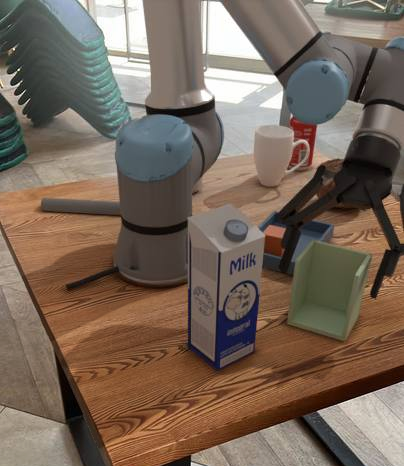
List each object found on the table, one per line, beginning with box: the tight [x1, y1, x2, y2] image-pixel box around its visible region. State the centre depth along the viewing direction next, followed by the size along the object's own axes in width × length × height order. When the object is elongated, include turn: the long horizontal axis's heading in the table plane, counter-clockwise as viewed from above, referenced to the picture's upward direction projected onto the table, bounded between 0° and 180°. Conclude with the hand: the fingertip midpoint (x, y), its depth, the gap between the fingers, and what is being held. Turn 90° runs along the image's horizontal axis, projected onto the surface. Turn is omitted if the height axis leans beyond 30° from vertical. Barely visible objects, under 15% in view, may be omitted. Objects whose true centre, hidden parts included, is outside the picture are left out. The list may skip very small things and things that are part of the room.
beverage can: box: [287, 115, 318, 172], centre depth 133 cm, size 6×6×12 cm
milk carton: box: [187, 203, 266, 372], centre depth 75 cm, size 7×7×20 cm
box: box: [286, 239, 373, 342], centre depth 84 cm, size 7×9×11 cm
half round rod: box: [40, 197, 121, 216], centre depth 116 cm, size 4×20×2 cm, turn 85°
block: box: [263, 225, 286, 257], centre depth 101 cm, size 4×4×4 cm
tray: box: [256, 210, 335, 276], centre depth 104 cm, size 17×12×2 cm
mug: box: [253, 124, 310, 188], centre depth 125 cm, size 12×8×11 cm
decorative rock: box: [315, 157, 350, 210], centre depth 117 cm, size 13×11×10 cm
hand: (326, 283), depth 82 cm, fingers open, 13 cm apart
